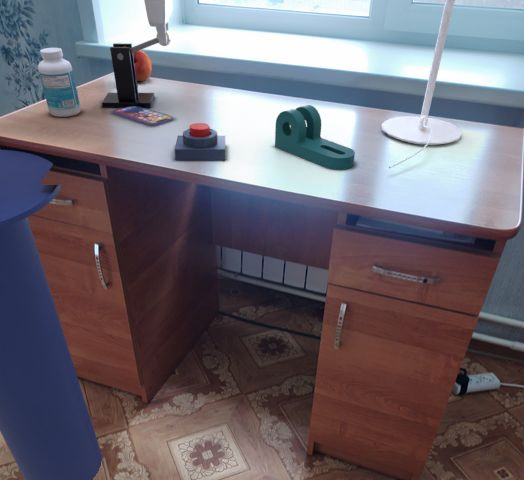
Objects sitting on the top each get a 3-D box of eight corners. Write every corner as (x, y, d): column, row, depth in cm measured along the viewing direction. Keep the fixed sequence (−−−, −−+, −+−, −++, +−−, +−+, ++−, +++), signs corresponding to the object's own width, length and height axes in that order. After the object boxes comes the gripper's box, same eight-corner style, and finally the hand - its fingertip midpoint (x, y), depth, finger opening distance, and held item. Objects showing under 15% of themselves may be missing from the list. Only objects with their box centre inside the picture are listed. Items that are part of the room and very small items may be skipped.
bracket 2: (274, 146, 108) (276, 107, 103) (296, 139, 112) (299, 101, 107) (338, 172, 99) (343, 130, 93) (360, 163, 102) (366, 123, 97)
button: (189, 138, 101) (189, 129, 100) (190, 131, 104) (190, 122, 103) (209, 138, 101) (209, 129, 100) (210, 131, 104) (209, 122, 103)
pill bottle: (61, 107, 126) (47, 45, 117) (87, 110, 124) (74, 47, 115) (43, 115, 121) (26, 51, 112) (69, 119, 119) (55, 54, 110)
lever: (173, 41, 123) (167, 25, 121) (172, 44, 120) (166, 28, 118) (121, 61, 125) (114, 47, 123) (119, 65, 123) (112, 50, 120)
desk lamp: (381, 116, 125) (423, -134, 95) (456, 122, 123) (523, -133, 93) (378, 175, 98) (435, -151, 68) (474, 184, 95) (577, -149, 66)
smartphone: (134, 108, 128) (175, 121, 121) (111, 114, 124) (152, 128, 117) (134, 104, 127) (175, 117, 120) (110, 110, 123) (151, 124, 116)
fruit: (120, 81, 145) (115, 49, 140) (141, 76, 150) (137, 45, 144) (138, 86, 141) (134, 54, 136) (159, 80, 146) (156, 49, 141)
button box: (175, 160, 102) (173, 140, 99) (178, 146, 108) (176, 126, 105) (225, 160, 102) (224, 140, 99) (225, 146, 108) (224, 126, 105)
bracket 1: (154, 97, 134) (148, 42, 125) (150, 108, 127) (143, 50, 118) (108, 97, 133) (99, 41, 124) (102, 107, 126) (91, 49, 118)
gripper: (148, -34, 120) (155, 33, 129) (136, -25, 105) (145, 51, 114) (175, -34, 120) (180, 34, 129) (167, -25, 105) (173, 51, 114)
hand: (164, 42), depth 121 cm, fingers closed on lever, 3 cm apart
